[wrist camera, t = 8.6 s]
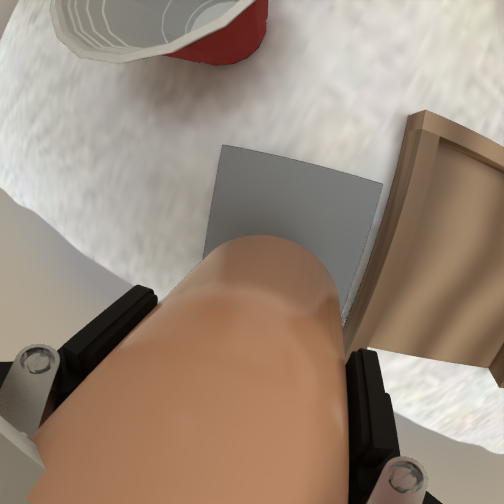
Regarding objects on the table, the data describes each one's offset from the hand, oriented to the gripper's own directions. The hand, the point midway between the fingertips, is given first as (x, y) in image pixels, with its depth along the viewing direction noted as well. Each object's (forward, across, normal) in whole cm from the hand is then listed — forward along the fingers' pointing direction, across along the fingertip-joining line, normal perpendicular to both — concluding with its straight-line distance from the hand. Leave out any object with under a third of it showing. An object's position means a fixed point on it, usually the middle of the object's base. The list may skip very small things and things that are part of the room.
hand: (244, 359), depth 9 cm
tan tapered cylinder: (+4, 0, +2) cm, 4 cm away
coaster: (+13, 0, 0) cm, 13 cm away
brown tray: (+13, -15, -2) cm, 20 cm away
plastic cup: (+13, +7, -14) cm, 21 cm away
